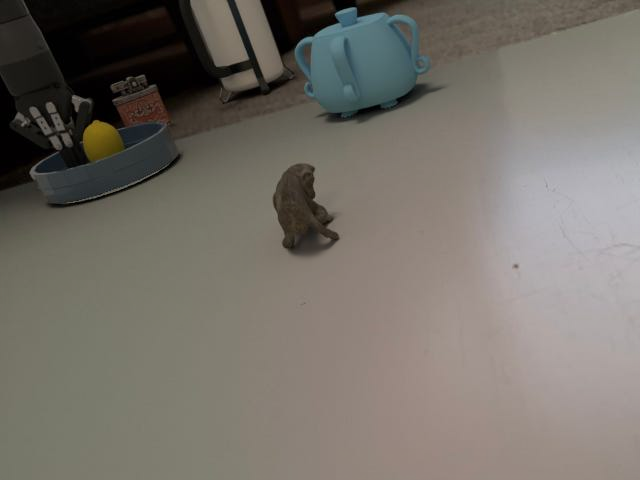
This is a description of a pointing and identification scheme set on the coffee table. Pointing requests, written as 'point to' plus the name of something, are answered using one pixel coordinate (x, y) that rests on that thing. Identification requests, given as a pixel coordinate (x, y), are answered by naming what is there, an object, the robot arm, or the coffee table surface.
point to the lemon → (101, 141)
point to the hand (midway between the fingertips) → (80, 169)
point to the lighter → (140, 102)
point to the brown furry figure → (299, 204)
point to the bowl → (107, 165)
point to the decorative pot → (361, 62)
